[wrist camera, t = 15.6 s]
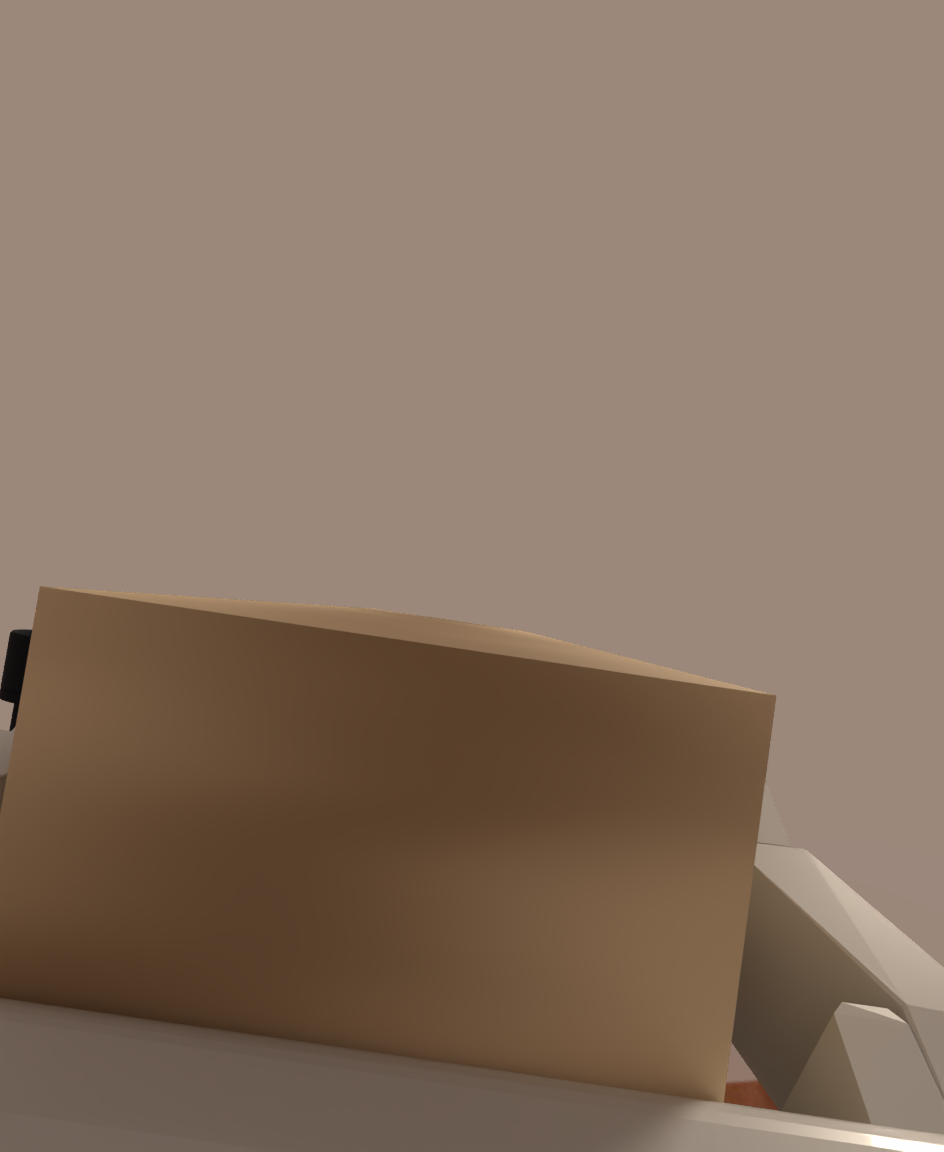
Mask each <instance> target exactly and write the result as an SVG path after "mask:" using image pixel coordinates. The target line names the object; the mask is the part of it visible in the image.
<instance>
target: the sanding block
mask: <svg viewBox="0 0 944 1152" xmlns="http://www.w3.org/2000/svg"><path fill="white" fill-rule="evenodd" d="M775 701H776V695H772V694H768V693H764V692H760V691H756V690H752V689H749V688H745V687H741V686H737V685H733V684H729V683H725V682H721V681H717V680H713V679H710V678H706V677H701V676H697V675H694V674H690V673H686V672H682V671H678V670H674V669H670V668H667V667H662V666H658V665H655V664H651V663H647V662H643V661H639V660H635V659H631V658H627V657H624V656H619V655H616V654H612V653H608V652H604V651H600V650H596V649H592V648H588V647H584V646H580V645H576V644H573V643H569V642H565V641H560V640H557V639H553V638H549V637H545V636H541V635H537V634H533V633H530V632H526V631H520V630H513V629H506V628H500V627H492V626H486V625H479V624H473V623H466V622H459V621H453V620H446V619H439V618H433V617H425V616H418V615H412V614H405V613H399V612H392V611H385V610H379V609H371V608H356V607H342V606H327V605H326V606H325V605H311V604H297V603H282V602H266V601H252V600H237V599H222V598H207V597H192V596H176V595H161V594H147V593H132V592H117V591H102V590H101V591H100V590H86V589H72V588H57V587H43V586H40V589H39V595H38V601H37V606H36V613H35V618H34V624H33V629H32V635H31V641H30V647H29V652H28V658H27V664H26V669H25V675H24V681H23V687H22V692H21V698H20V704H19V710H18V715H17V721H16V727H15V732H14V738H13V744H12V750H11V755H10V761H9V767H8V773H7V778H6V784H5V790H4V795H3V801H2V807H1V813H0V998H5V999H12V1000H19V1001H26V1002H33V1003H40V1004H46V1005H53V1006H60V1007H67V1008H74V1009H81V1010H88V1011H95V1012H102V1013H108V1014H115V1015H122V1016H129V1017H136V1018H143V1019H150V1020H157V1021H164V1022H170V1023H177V1024H184V1025H191V1026H198V1027H205V1028H212V1029H219V1030H226V1031H232V1032H239V1033H246V1034H253V1035H260V1036H267V1037H274V1038H281V1039H288V1040H294V1041H301V1042H308V1043H315V1044H322V1045H329V1046H336V1047H343V1048H350V1049H356V1050H363V1051H370V1052H377V1053H384V1054H391V1055H398V1056H405V1057H412V1058H418V1059H425V1060H432V1061H439V1062H446V1063H453V1064H460V1065H467V1066H474V1067H480V1068H487V1069H494V1070H501V1071H508V1072H515V1073H522V1074H529V1075H535V1076H542V1077H549V1078H556V1079H563V1080H570V1081H577V1082H584V1083H590V1084H597V1085H604V1086H611V1087H618V1088H625V1089H632V1090H639V1091H645V1092H652V1093H659V1094H666V1095H673V1096H680V1097H687V1098H694V1099H700V1100H707V1101H714V1102H721V1103H724V1095H725V1087H726V1080H727V1072H728V1064H729V1056H730V1049H731V1041H732V1033H733V1026H734V1018H735V1010H736V1002H737V995H738V987H739V979H740V972H741V964H742V956H743V948H744V941H745V933H746V925H747V917H748V910H749V902H750V894H751V887H752V879H753V871H754V863H755V856H756V848H757V840H758V833H759V825H760V817H761V809H762V802H763V794H764V786H765V778H766V771H767V762H768V755H769V748H770V740H771V731H772V724H773V717H774V709H775Z"/></svg>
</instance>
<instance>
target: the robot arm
mask: <svg viewBox="0 0 944 1152" xmlns="http://www.w3.org/2000/svg"><path fill="white" fill-rule="evenodd" d="M15 727H16V726H15ZM15 727H14V729H13V730H12V731H4V730H0V813H1V807H2V801H3V795H4V790H5V784H6V778H7V773H8V767H9V761H10V755H11V750H12V744H13V738H14V732H15ZM731 1042H732V1044H733V1045H734V1046H735V1048H736V1049H737V1051H738V1052H739V1054H740V1055H741V1056H742V1058H743V1059H744V1061H745V1062H746V1064H747V1065H748V1066H749V1068H750V1069H751V1070H752V1072H753V1074H754V1075H755V1076H756V1078H757V1079H758V1081H759V1082H760V1084H761V1085H762V1086H763V1088H764V1089H765V1091H766V1092H767V1094H768V1095H769V1096H770V1098H771V1099H772V1101H773V1102H774V1104H775V1105H776V1106H777V1108H778V1109H779V1111H776V1110H769V1109H762V1108H755V1107H749V1106H742V1105H735V1104H728V1103H721V1102H714V1101H707V1100H700V1099H694V1098H687V1097H680V1096H673V1095H666V1094H659V1093H652V1092H645V1091H639V1090H632V1089H625V1088H618V1087H611V1086H604V1085H597V1084H590V1083H584V1082H577V1081H570V1080H563V1079H556V1078H549V1077H542V1076H535V1075H529V1074H522V1073H515V1072H508V1071H501V1070H494V1069H487V1068H480V1067H474V1066H467V1065H460V1064H453V1063H446V1062H439V1061H432V1060H425V1059H418V1058H412V1057H405V1056H398V1055H391V1054H384V1053H377V1052H370V1051H363V1050H356V1049H350V1048H343V1047H336V1046H329V1045H322V1044H315V1043H308V1042H301V1041H294V1040H288V1039H281V1038H274V1037H267V1036H260V1035H253V1034H246V1033H239V1032H232V1031H226V1030H219V1029H212V1028H205V1027H198V1026H191V1025H184V1024H177V1023H170V1022H164V1021H157V1020H150V1019H143V1018H136V1017H129V1016H122V1015H115V1014H108V1013H102V1012H95V1011H88V1010H81V1009H74V1008H67V1007H60V1006H53V1005H46V1004H40V1003H33V1002H26V1001H19V1000H12V999H5V998H0V1152H944V968H943V967H942V966H941V965H940V964H939V963H937V962H936V961H935V960H934V959H933V958H932V957H930V956H929V955H928V954H927V953H926V952H925V951H923V950H922V949H921V948H920V947H919V946H918V945H916V944H915V943H914V942H913V941H911V939H909V938H908V937H907V936H906V935H905V934H904V933H902V932H901V931H900V930H899V929H898V928H897V927H895V926H894V925H893V924H892V923H891V922H890V921H888V920H887V919H886V918H885V917H884V916H882V915H881V914H880V913H879V912H878V911H877V910H876V909H874V908H873V907H872V906H871V905H870V904H869V903H867V902H866V901H865V900H864V899H863V898H862V897H860V896H859V895H858V894H857V893H856V892H854V890H852V889H851V888H850V887H849V886H848V885H846V884H845V883H844V882H843V881H842V880H841V879H839V878H838V877H837V876H836V875H835V874H834V873H833V872H831V871H830V870H829V869H828V868H827V867H826V866H824V865H823V864H822V863H821V862H820V861H819V860H817V859H816V858H815V857H814V856H813V855H811V854H810V853H809V852H808V851H807V850H806V849H801V848H795V847H792V846H791V843H790V841H789V838H788V836H787V833H786V831H785V828H784V826H783V823H782V821H781V818H780V815H779V813H778V810H777V808H776V805H775V803H774V800H773V798H772V795H771V793H770V790H769V788H768V785H767V783H766V780H765V786H764V794H763V802H762V809H761V817H760V825H759V833H758V840H757V848H756V856H755V863H754V871H753V879H752V887H751V894H750V902H749V910H748V917H747V925H746V933H745V941H744V948H743V956H742V964H741V972H740V979H739V987H738V995H737V1002H736V1010H735V1018H734V1026H733V1033H732V1041H731Z"/></svg>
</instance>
